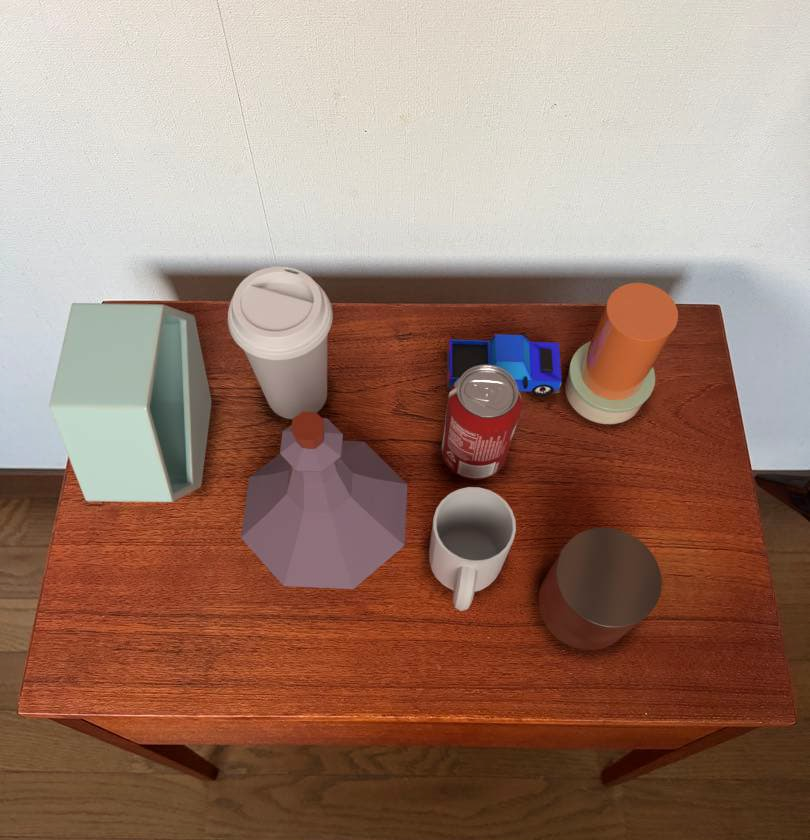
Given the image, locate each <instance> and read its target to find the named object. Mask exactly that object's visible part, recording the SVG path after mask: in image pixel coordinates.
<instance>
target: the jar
mask: <svg viewBox="0 0 810 840" xmlns="http://www.w3.org/2000/svg"><path fill="white" fill-rule="evenodd" d="M590 342H591V340H590V341H588V342H586V343H584V344H582V345H581V346H580V347H579V348H578V349H577V350H575V353H574V354H573V355H572V358H571V360H570V362H569V366H568V373H567V375H566V378H565V383H564V390H565V391H564V392H565V395H566V399H567V400H568V403H569V405H570V406H571V407H572V408H573V410H575V412H576V413H578V414H579V415H580V416H582V417H583V418H585V419H586V420H588V421H591V422H594V423H596V424H601V425H616V424H620V423H624V422H626V421H628V420H630V419H632V418H633V417H635V416H636V415H637V413H638V412H639V411H640V409H641V408H642V406H643V404H645V403H646V402H647V401H648V399H649V398H650V396H652V393H653V391H654V389H655V385H656V373H655V369H654V366H653V367H652V369H651V371H650V372H649V374H648V376H647V378H646V379H645V381H644V383H643V385H642V386H641V388H640V389H639V391H638V392H637V393H636V394H634V395H633V396H631V397H629V398H626V399H622V400H609V399H605V398H602V397H600V396H598V395H596V394H594V393H593V392H592V391H591V390H590V389H589V388H588V387H587V386H586V385H585V383H584V381H583V379H582V376H581V365H582V362H583V360H584V357H585V355H586V352H587V350H588V347H589V345H590Z"/></svg>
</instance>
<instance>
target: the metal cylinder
mask: <svg viewBox="0 0 810 840" xmlns="http://www.w3.org/2000/svg"><path fill="white" fill-rule="evenodd" d="M661 573H662V572H661V569H660V567H659V563H658V561H657V559H656V557H655V556H654V554H653V552H652V551H651V550H650V549H649V547H648V546H647V545H646V544H645V543H644V542H643V541H641V539H638V538H637V537H635V536H634V535H632V534H631V533H629V532H626V531H624V530H621V529H617V528H612V527H605V526H604V527H593V528H589V529H585V530H584V531H581V532H579V533H577V534H576V535H575V536H573V537H572V538H570V540H568V541H567V542H566V544H565V545H564V546H563V548H561V551H560V553H559V554H558V556H557V557H556V559H555V561H554V563H553V564H552V566H551V567H550V569H549V570H548V572H547V574H546V575H545V577H544V578H543V580H542V582H541V584H540V588H539V590H538V597H537V605H538V610H539V614H540V617H541V620H542V622H543V623H544V625H545V627H546V629H548V631H549V632H550V633H551V635H553V636H554V637H555V638H556V639H557V640H559V641H560V642H562V643H563V644H565V645H567V646H569V647H571V648H574V649H576V650H581V651H598V650H602V649H605V648H608V647H610V646H612V645H613V644H615V643H616V642H618V641H619V640H620V639H621V638H623V637H624V636H625V635H626V634H627V633H629V632H630V631H631V630H632V629H634V628H635V627H636V626H637V625H638V624H639V623H641V622H643V620H645V618H647V617H648V616H649V615H650V614H651V613H652V612H653V610H654V609H655V607H656V606H657V604H658V603H659V600H660V598H661V593H662V586H663V585H662V584H663V582H662V574H661Z"/></svg>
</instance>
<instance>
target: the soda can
mask: <svg viewBox="0 0 810 840" xmlns="http://www.w3.org/2000/svg"><path fill="white" fill-rule="evenodd" d="M522 406H523V399H522V395H521V391H519V390H518V387H517V384H516V381H515V380H514V378H513V377H512V376H511V375H510V374H509V373H508V372H507V371H505V370H504V369H502V368H500V367H497V366H493V365H479V366H475V367H472V368H470V369H469V370H467V371H466V372H465V373H464V374H463V375H462V376H461V377H460V378H459V379H458V380H457V381H456V382H455V383H454V384H453V386H452V388H451V390H449V393H448V397H447V406H446V412H445V413H446V414H445V420H444V426H443V427H444V428H443V434H442V443H441V456H442V459H443V462H444V463H445V465H446V466H447V468H448V469H449V470H450V471H451V472H452V473H454V474H455V475H457V476H458V477H461V478H463V479H466V480H472V481H481V480H485V479H489V478H490V477H493V476H494V475H496V474H498V473H499V472H500V470H501V469H502V468H503V467H504V465H505V463H506V460H507V458H508V454H509V450H510V447H511V444H512V440H513V438H514V435H515V432H516V429H517V425H518V422H519V419H520V416H521V413H522Z"/></svg>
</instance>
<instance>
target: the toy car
mask: <svg viewBox="0 0 810 840" xmlns="http://www.w3.org/2000/svg"><path fill="white" fill-rule="evenodd" d="M526 336H527V335H526V331H522V332H521V334H494V335H493V336H492V338H491V339H490V340H479V339H450V338H449V339H448V341H447V347H446V391H450V390H451V388H452V386H453V384H454V383H455V382H456V381H457V380H458V379H459V378H460V377H461V376H462V375H463V374H464V373H465V372H466V371H467V370H469V369H470V368H472V367H475V366H479V365H493V366H497V367H500V368H502V369H504V370H505V371H507V372H508V373H509V374H510V375H511V376H512V377H513V378H514V380H515V381H516V384H517V387H518V390H519V392H532V394H533V395H534V396H537V397H547V396H550V395H552V393H553V394H560V392H561V385H562V369H561V355H560V342H549V341H545V342H544V341H530V340H529V339H528V338H527V337H526Z"/></svg>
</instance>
